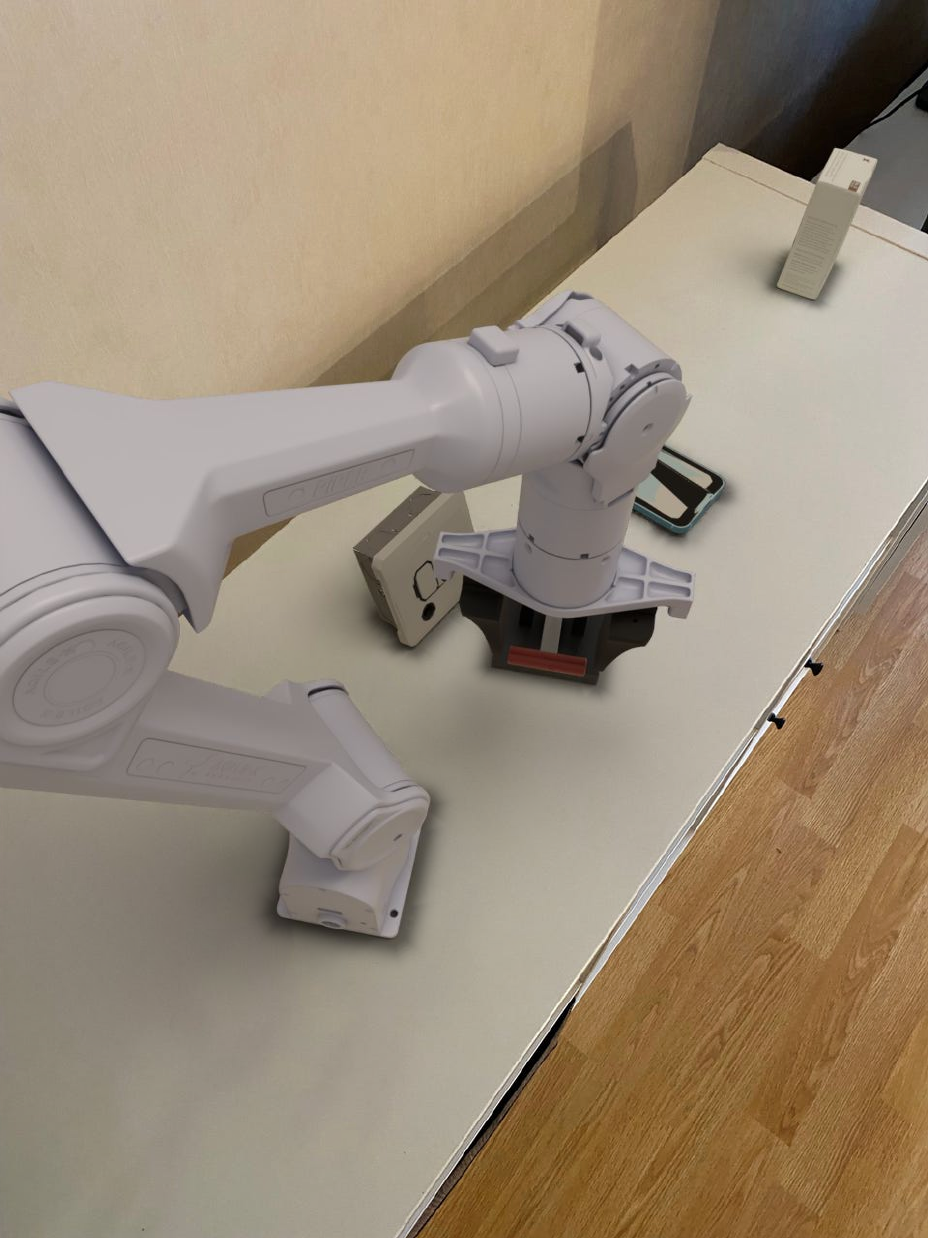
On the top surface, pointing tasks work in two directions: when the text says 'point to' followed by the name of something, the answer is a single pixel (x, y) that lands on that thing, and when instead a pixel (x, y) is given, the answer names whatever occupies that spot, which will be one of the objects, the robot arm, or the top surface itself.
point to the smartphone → (677, 491)
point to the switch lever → (548, 653)
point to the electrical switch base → (573, 641)
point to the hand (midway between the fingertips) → (549, 649)
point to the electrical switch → (413, 561)
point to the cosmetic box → (826, 222)
